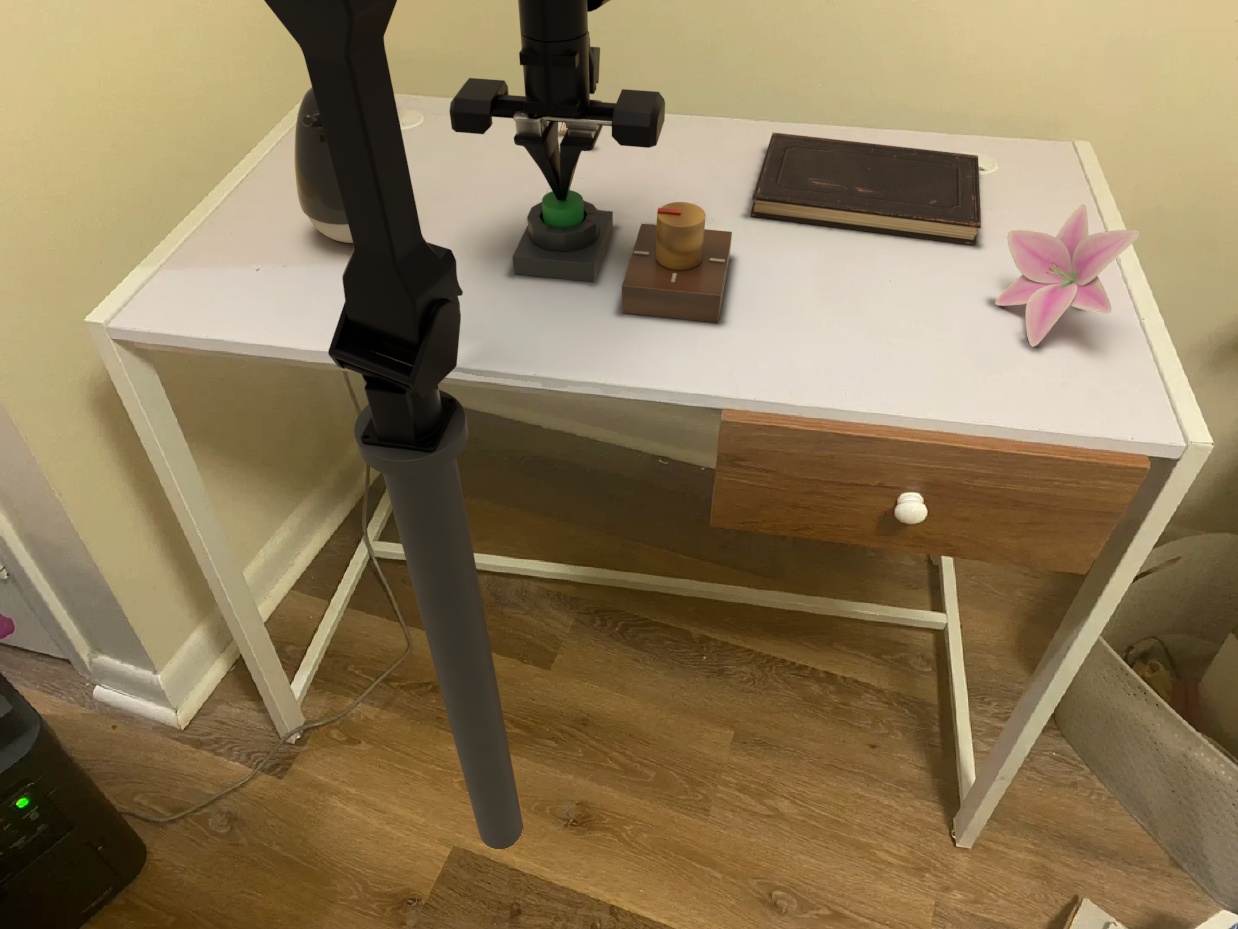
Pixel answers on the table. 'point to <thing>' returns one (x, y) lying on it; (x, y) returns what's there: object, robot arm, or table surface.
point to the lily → (1061, 271)
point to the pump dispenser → (317, 174)
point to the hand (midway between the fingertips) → (562, 198)
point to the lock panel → (676, 280)
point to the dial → (680, 235)
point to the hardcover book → (870, 188)
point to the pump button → (563, 210)
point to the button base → (564, 246)
